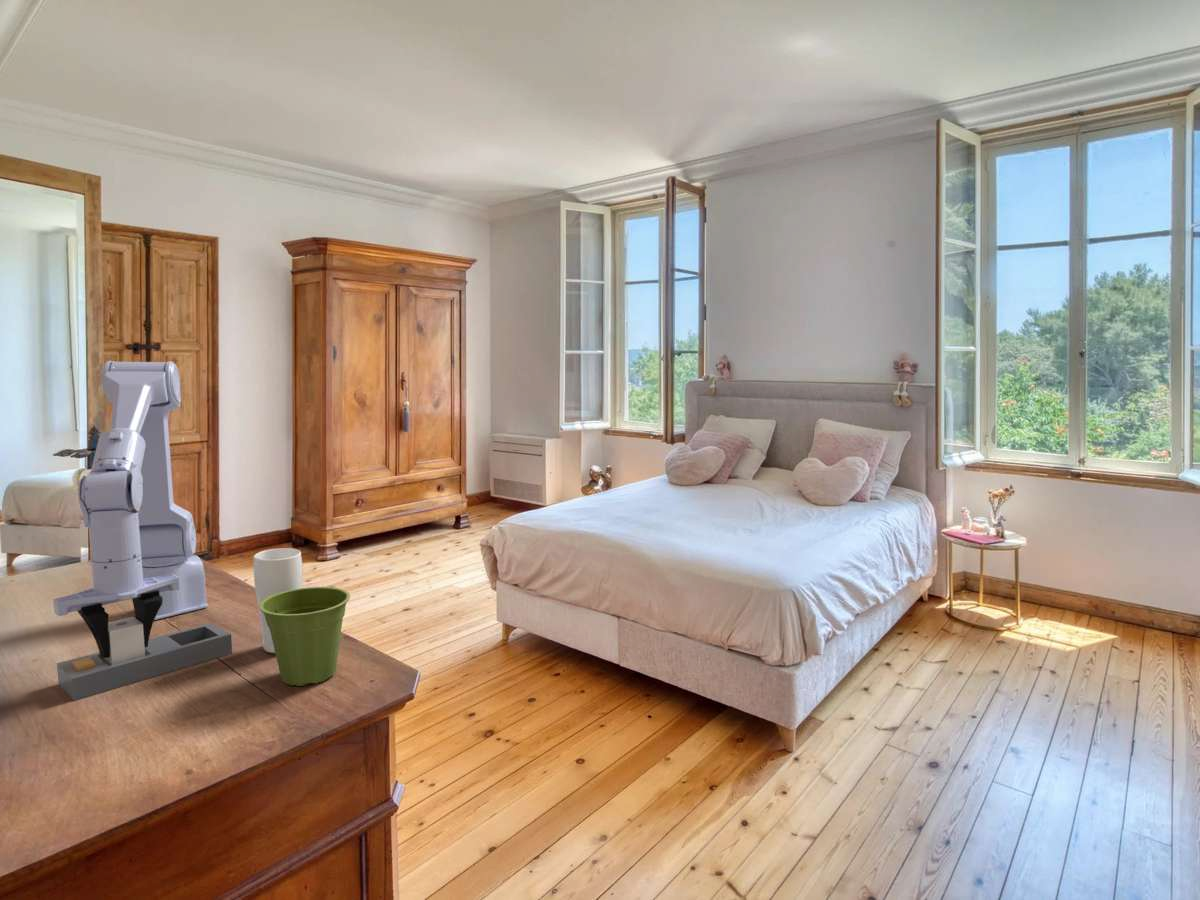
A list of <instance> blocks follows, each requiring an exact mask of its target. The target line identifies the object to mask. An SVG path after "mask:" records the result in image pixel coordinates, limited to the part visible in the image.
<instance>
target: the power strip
mask: <svg viewBox="0 0 1200 900" xmlns="http://www.w3.org/2000/svg"><path fill="white" fill-rule="evenodd" d="M232 641H233V640H232V634H231V633H230V632H228V631H226V630H225V629H223V628H222V627H220V626H219V625H216V624H215V623H213V622H208V623H204V624H201V625H197V626H194V627H190V628H186V629H182V630H178V631H175V632H171V633H166V634H164V635H158V636H154V637H151V638H149V641H148V647H145V656H143V657H140V658H136V659H132V660H129V661H125V662H122V663H118V664H114V665H111V666H108V665H107V664H106V663H105V662H104V661H103V657H102V656H101V655H100V653H99V651H98V652H95V653H90V654H87V655H83V656H79V657H76V658H71V659H69V660H64V661H61V662H57V663H56V668H57V679H58V680H57V682H58V685H59V686H60V687H61V689H62V690H64V692H65V693H66V694H67V696H68V697H70V699H72V701H77V700H81V699H85V698H87V697H92V696H94V695H97V694H101V693H103V692H107V691H111V690H113V689H118V688H120V687H123V686H127V685H128V686H129V685H130V684H134V683H137V682H140V681H144V680H147V679H150V678H153V677H157V676H160V675H164V674H167V673H170V672H175V671H177V670H181V669H184V668H186V667H191V666H194V665H196V664H200V663H204V662H208V661H211V660H214V659H218V658H221V657H224V656H227V655H230V654H233V644H232Z"/></svg>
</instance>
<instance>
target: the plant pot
mask: <svg viewBox="0 0 1200 900" xmlns="http://www.w3.org/2000/svg"><path fill="white" fill-rule="evenodd" d="M350 599H351V593H350V592H348V591H347V590H345V589H342V588H339V587H335V586H334V587H333V586H330V587H329V586H311V587H310V586H309V587H302V588H299V589H293V590H288V591H284V592H280V593H277V594H274V595H271V596H269V597H267V598H265V599H264V600H263V601H261V602H260V604H259V609H260V610H261V611H262V612H263V613H264V615H265V619H266V623H267V625H268V627H269V629H270V633H271V637H272V641H273V645H274V650H275V653H274V654H275V658H276V662H277V665H278V666H277V667H278V670H279V675H280V677H281V681H282V682H283V683H284V684H287V685H289V686H294V685H296V687H301V686H305V685H307V684H319V683H318V682H320V683H322V682H321V681H323V680H325V681H326V679H327V680H329V679H330V678H332V677H333V676H334V675H335V674H336V671H337V666H338V658H339V650H340V642H341V634H342V626H343V619H344V617H345V613H346V605H347V603H348V602H349V600H350ZM334 673H335V674H334ZM333 674H334V675H333ZM332 675H333V676H332ZM331 676H332V677H331ZM329 677H330V678H329ZM328 678H329V679H328ZM323 682H324V681H323Z"/></svg>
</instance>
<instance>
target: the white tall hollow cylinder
mask: <svg viewBox="0 0 1200 900" xmlns="http://www.w3.org/2000/svg"><path fill="white" fill-rule="evenodd" d="M303 576H304V574H303V559H302V552H301V550H299V549H297V548H292V547H291V548H290V547H281V548H279V547H278V548H271V549H265V550H262V551H259V552H257V553H255V554H254V555H253V580H254V590H255V594H256V595H255V596H256V603H257V608H258V615H259V616H258V617H259V622H260V629H261V638H262V648H263V650H264V651H265V652H267V653H270V654H275V650H274V645H273V641H272V637H271V633H270V629H269V627H268V625H267V623H266V619H265V615H264V613H263V612H262V611H261V610H260V609H259V604H260V602H261V601H263V600H264V599H265V598H267V597H269V596H271V595H274V594H277V593H280V592H284V591H288V590H293V589H299V588H303Z"/></svg>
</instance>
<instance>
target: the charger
mask: <svg viewBox="0 0 1200 900" xmlns="http://www.w3.org/2000/svg"><path fill="white" fill-rule="evenodd" d="M108 638H109V645H110V657H108V658H103V661H104V662H105V663H106V664H107V665H108V666H111V665H114V664H118V663H122V662H125V661H129V660H132V659H136V658H140V657H143V656H145V645H144V632H143V623H141V622H140V621H138V620H137V619H136V617H134V616H131V617H130V616H129V617H125V618H121V619H117V620H114V621H113V620H112V621H108Z"/></svg>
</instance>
